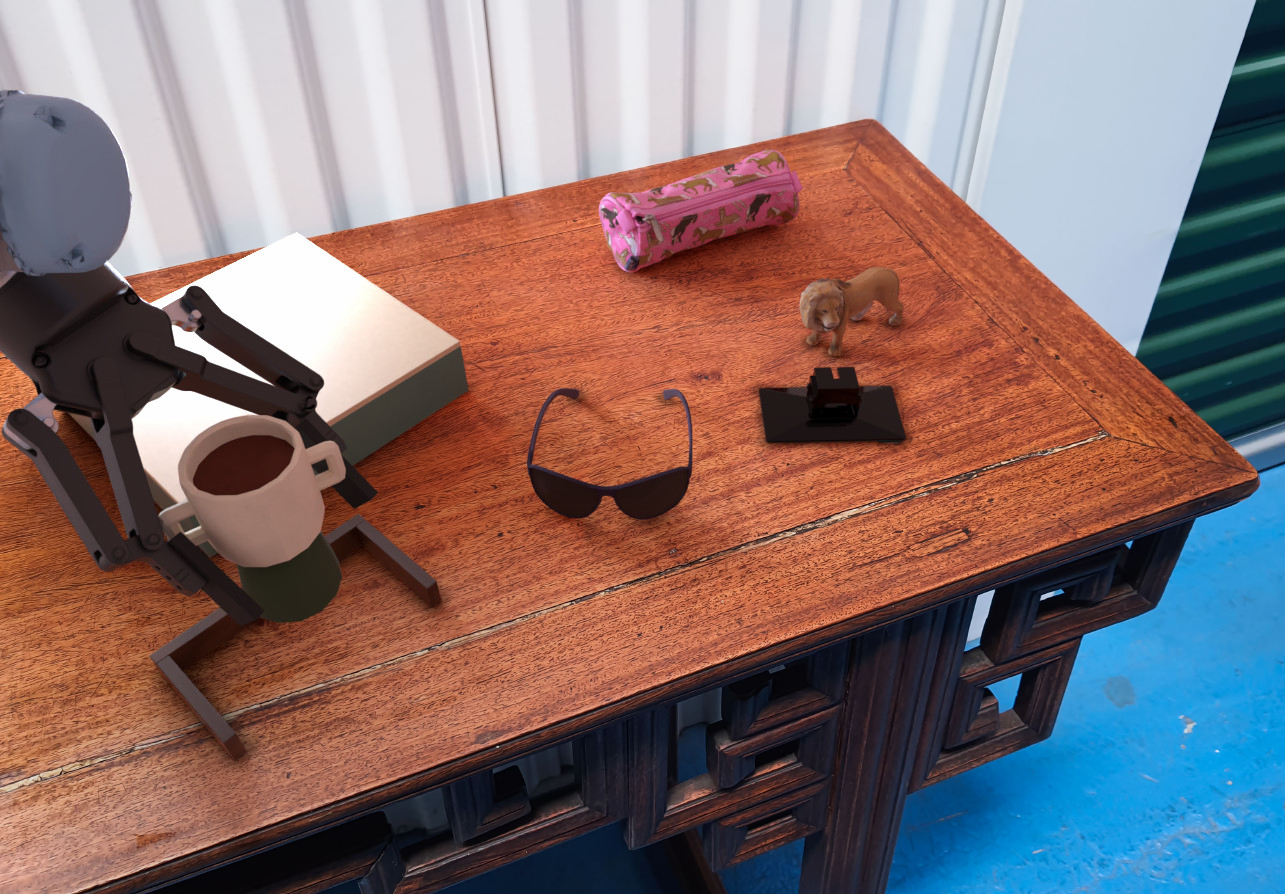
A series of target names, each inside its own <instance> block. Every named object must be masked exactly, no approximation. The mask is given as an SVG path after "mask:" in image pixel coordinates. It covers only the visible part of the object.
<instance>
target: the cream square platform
mask: <svg viewBox="0 0 1285 894" xmlns="http://www.w3.org/2000/svg"><path fill="white" fill-rule="evenodd" d="M192 285H198V286H200V287H202V288H203V289H204V290H205V291H206V292H207V294H208V295H209V296H210V297H211V298H212V299H213V301H214V302H215V303H216V304H217V305H218V307H219V308H220V309H221V310H222V311H223V312H224V313H226V314H227V315H229V316H230V317H232V318H233V319H235V320H236V321H238V322H240V323H241V324H243V325H244V326H246V327H247V328H249V329H250V330H252V331H253V332H255V333H256V334H258V335H259V336H261V337H263V338H264V339H266V340H267V341H269V342H270V343H272V344H273V345H275V346H276V347H278V348H279V349H281V350H282V351H284V352H286V353H287V354H289V355H290V356H292V357H293V358H295V359H296V360H298V361H299V362H301V363H302V364H304V365H305V366H307V367H309V368H310V369H312V370H313V371H315V372H316V373H318V374H319V375H320V376H321V377H322V378H323V380H324V386H323V388H322V389H321V390H320V391H319V393H318V395H317V398H316V400H317V407H316V409H315V410H316V412H317V413H318V415H319V416H320V417H321V418H322V419H323V420H324V421H325V422H326V423H327V424H328V425H329V426H330V427H331V428H332V429H333V430H334V431H335V432H336V433H337V434H338V435H339V436H340V437H341V438H342V439H343V440H344V442H345V444H346V447H347V449H346V450H345V451H343V452H342V453H341V455H342V456H343V457H344V458H345V459H346V460H347V461H348V462H349V463H350V464H351V465H352V466H353V467H354V466H355V465H356V464H358V463H360V462H361V461H363V460H364V459H366V458H367V457H369V456H370V455H372V454H373V453H375V452H376V451H378V450H380V449H381V448H383V447H384V446H386V445H387V444H389V443H390V442H392V441H393V440H396V438H398V437H400V436H401V435H403V434H405V433H406V432H407V431H409V430H410V429H412V428H413V427H415V426H416V425H418V424H419V423H421V422H423V421H424V420H426V419H427V418H429V417H430V416H432V415H433V414H435V413H437V412H438V411H440V410H442V409H443V408H444V407H446V406H447V405H449V404H451V403H452V402H454V401H455V400H456V399H458V398H459V397H461V396H463V395H465V394H466V393H468V392H469V391H470V387H469V383H468V378H467V372H466V366H465V362H464V357H463V350H462V346H461V341H460V340H459V339H457V338H456V337H455V336H453V335H451V334H450V333H448V332H447V331H445V330H444V329H442V328H441V327H439V326H438V325H436V324H435V323H433V322H432V321H430V320H429V319H427V318H426V317H425V316H423V315H422V314H420V313H418V312H417V311H415V310H414V309H412V308H411V307H410V306H408V305H407V304H405V303H403V302H402V301H401V300H399V299H397V298H396V297H394V296H393V295H391V294H390V293H388V292H386V291H385V290H384V289H382V288H381V287H379V286H377V285H376V284H375V283H374V282H371V281H370V280H369V279H367V278H366V277H365V276H363V275H361V274H359V272H357V271H355V270H354V269H352V268H351V267H349V266H348V265H346V264H345V263H343V262H342V261H340V260H339V259H337V258H336V257H334V256H333V255H331V254H330V253H328V252H327V251H325V250H324V249H322V248H321V247H320V246H318V245H316V244H315V243H314V242H312V241H310V240H309V239H307V238H306V237H304V236H303V235H302V234H300V233H298V232H294V233H293V234H290V235H288V236H286V237H284V238H283V239H280V240H278V241H276V242H274V243H272V244H270V245H268V246H266V247H264V248H262V249H260V250H258V251H256V252H254V253H252V254H250V255H247V256H246V257H244V258H241V259H239V260H237V261H236V262H233V263H231V264H229V265H226V266H225V267H223V268H221V269H218V270H216V271H214V272H213V273H211V274H208V275H206V276H203V277H202V278H200V279H197V280H196V281H194V282H192V283H190V284H188V285H186V286H184V287H182V288H180V289H178V290H175V291H174V292H172V293H169V294H167V295H166V296H165V295H164V296H163V297H161V298H159V299H157V300H155V301H153V302H151V303H150V304H152V305H154V306H157V307H159V308H163V307H164V306H166V305H168V304H169V303H171V302H173V301H175V300H176V299H178V298H180V297H181V296H182V295H183V293H184V292H185V291H186V289H187V288H188V287H189V286H192ZM172 328H173V334H174V340H175V345H176V346H179V347H181V348H184V349H187V350H189V351H192V352H195V353H197V354H200V355H202V356H204V357H205V358H206V359H207V360H208V361H209V362H211V363H214V364H217V365H220V366H222V367H225V368H228V369H230V370H233V371H236V372H238V373H241V374H244V375H246V376H249V377H252V378H255V379H257V380H260V381H263V382H265V383H268V384H271V383H269V382H268V381H266V380H264V379H263V378H261V377H260V376H258V375H257V374H255V373H253V372H252V371H250V370H249V369H247V368H246V367H244V366H242V365H241V364H239V363H238V362H236V361H234V360H233V359H231V358H230V357H228V356H227V355H225V354H223V353H222V352H220V351H219V350H217V349H215V348H214V347H212V346H211V345H209V344H208V343H206V342H205V341H203V340H202V339H201V338H200V337H198V336H197V335H196V334H195V333H194V332H193V333H189V332H184V331H183V330H182V329H181V328H180V327H177V326H172ZM271 385H272V384H271ZM273 386H274V385H273ZM68 415H69V416H70V417H71V418H72V419H73V420H74V421H75V422H76V424H78V425H79V426H80V427H81V428H82V429H83V430H84V431H85V433H87V434H88V435H89V436H90V437H91V438H92V439H93V440H94V441H95V442H96V439H95V436H94V433H93V429H92V426H91V423H90V419H89V417H85V416H80V415H76V414H71V413H68ZM245 415H257V414H254V413H252V412H249V411H246V410H243V409H240V408H237V407H235V406H232V405H229V404H226V403H223V402H220V401H218V400H215V399H212V398H209V397H206V396H203V395H201V394H198V393H195V392H192V391H180V390H177V389H174V388H170V390H169V391H168V392H166V393H165V394H164V395H162V396H161V397H160V398H158V399H156V400H153V401H151V402H149V403H147V404H146V406H145V407H144V408H143V409H142V410H141V412H140V413H139V414H138V415H137V416H135V417H134V418H133V419H132V422H133V434H134V438H135V441H136V445H137V448H138V451H139V455H140V458H141V461H142V464H143V468H144V471H145V474H146V478H147V481H148V484H149V488H150V491H151V494H152V497H153V501H154V503H155V504H156V505H157V506H158V507H159V508H160V509H161V510H162V511H163V510H165V509H166V508H169V507H171V506H173V505H176V504H178V503H180V502H183V501H185V500H187V498H186V496H185V494H184V492H183V490H182V488H181V485H180V482H179V474H178V463H179V461H180V459H181V456H182V454H183V452H184V449H185V448H186V447H187V446H188V445H189V444H190V443H191V442H192V440H193V439H194V438H195V437H196V436H197V435H198V434H200V433H201V432H203V431H204V430H206V429H207V428H209V427H210V426H212V425H214V424H216V423H219V422H221V421H224V420H227V419H230V418H234V417H239V416H245ZM312 469H313V468H312ZM313 472H314V474H315V476H316V475H318V473H317V472H316V471H315V470H314V469H313ZM179 523H180V525H181V527H182V529H183V531H184V533H185V532H188V531H190V530H192V529H194V528H197V527H199V526H200V524H199V522H198V520H197V518H196V516H195V515H193V516H191V517H189V518H186V519H184V520H182V521H179ZM197 547H198V548H199V549H200V550H201V551H202V552H203V553H204V554H205V555H206V556H207V557H208V558H210V559H212V558H213V557H214V556H216V555H218V554H219V553H218V552H217V551H216V550H215V549H214V547H213V546H212V545H211V544H210V543H209V542H208V541H206V542H204V543H201V544H199V545H197Z"/></svg>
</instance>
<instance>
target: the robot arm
mask: <svg viewBox="0 0 1285 894" xmlns="http://www.w3.org/2000/svg"><path fill="white" fill-rule="evenodd" d="M132 202H133V194H132V192H131V185H130V179H129V167H128V162H127V159H126V156H125V153H124V151H123V148H122V146H121V144H120V142H119V140H118V138H117V136H116V134H115V133H114V132H113V130H112V128H111V127H110V126H109V124H108V123H107V122H106V121H105V120H104V118H103V117H102V116H101V115H99V114H98V112H96V111H95V110H93V109H92V108H91V107H90V106H87V105H86V104H84V103H82V102H80V101H78V100H76V99H73V98H69V97H64V96H58V95H45V94H36V93H35V94H33V93H26V92H24V91H23V90H19V89H2V90H0V353H1V354H3V355H4V356H5V357H6V358H7V359H8V360H9V361H10V362H11V363H12V364H13V365H14V366H15V367H16V368H17V369H18V370H20V371H21V372H22V373H23V374H24V375H26V376H27V377H28V378H29V379H30V381H31V382H32V383H33V385H34V387H35V390H36V393H37V395H36V397H34V398H33V399H32V400H31V401H29V402H28V403H27V404H26V405H25V406H23V407H22V408H15V409H13V410H11V411H10V412H9V414H8V415H7V417H6V419H5V421H4V423H3V425H2V427H1V435H2V437H3V438H4V439H5V440H6V441H7V442H8V443H10V444H11V445H12V446H13V447H15V448H16V449H17V450H19V451H20V452H21V453H23V454H24V455H25V456H26V457H27V458H29V459H30V460H31V461H32V463H33V464H34V466H35V468H36V469H37V471H38V472H39V474H40V476H41V477H42V479H43V480H44V482H45V484H46V485H47V487H48V489H49V490H50V492H51V494H52V495H53V496H54V498H55V500H56V501H57V503H58V504H59V507H60V508H61V510H62V511H63V513H64V514H65V516H66V518H67V519H68V521H69V523H70V524H71V526H72V527H73V529H74V531H75V532H76V534H77V536H78V537H79V538H80V540H81V542H82V543H83V545H84V547H85V549H86V550H87V552H88V553H89V554H90V557H91V558H92V560H93V561H94V563H95V564H96V566H97V568H99V569H100V571H102V572H104V573H113V572H115V571H117V570H119V569H121V568H123V567H125V566H129V565H130V564H133V563H136V562H139V563H145V564H146V565H149V567H150V568H152V570H154V571H155V572H156V573H157V574H158V575H159V576H160V577H161V578H163V579H164V581H166V582H167V583H168V584H169V585H170V586H171V587H172V588H173V589H174V590H176V591H177V592H178V594H181V595H183V596H185V597H188V598H191V597H192V596H194V595H196V594H197V593H198V592H200V591H202V592H203V593H204V594H205V595H206V596H207V597H209V599H211V600H212V602H214V603H215V604H216V605H217V606H218V608H220V607H221V608H222V609H223V610H224V611H225V612H226V613H227V614H228V615H229V616H230V617H231V618H232V619H233V620H235V621H236V622H237V623H238V624H239V625H240V626H243V625H245V624H248V623H250V622H252V621H255V620H256V619H257V618H258V617H259V616H260V615H261V614H262V613H263V612H264V611H265V610H264V609H263V608H262V607H261V606H260V605H258V604H257V603H256V602H255V601H254V600H253V599H252V598H251V597H250V596H249V595H248V594H247V593H246V592H245V591H244V590H243V589H242V587H241V586H240V585H238V583H236V582H235V581H234V580H233V579H232V578H231V577H230V576H229V575H228V574H227V573H226V572H224V570H222V569H221V568H220V566H218V565H217V564H216V562H214V561H213V560H212V558H209V557H208V556H207V555H206V554H205V553H204V552H203V551H202V549H201V548H200V547H199V546H198V545H197V546H196V545H195V544H194V543H192V542H191V541H190V540H189V539H188V538H187V537H186V536H185V535H184V534H183V533H182V532H179V533H178V534H177V535H175V536H174V537H173V538H171V539H170V540H169V541H168V540H167V539H165V534H164V532H163V530H162V527H161V524H160V521H159V517H158V516H159V514H158V510H157V507H156V503H155V501H154V500H153V497H152V494H151V491H150V488H149V484H148V481H147V478H146V474H145V471H144V468H143V464H142V461H141V458H140V455H139V451H138V448H137V445H136V441H135V438H134V434H133V422H132V419H133V418H134V417H135V416H137V415H138V414H139V413H140V412H141V410H142V409H143V408H144V407H145V406H146V404H147V403H149V402H151V401H153V400H156V399H158V398H160V397H161V396H162V395H164V394H165V393H166V392H168V391H169V390H170V388H174V389H177V390H180V391H192V392H195V393H198V394H201V395H203V396H206V397H209V398H212V399H215V400H218V401H220V402H223V403H226V404H229V405H232V406H235V407H237V408H240V409H243V410H246V411H249V412H252V413H254V414H257V415H268V416H271V417H274V418H277V419H281V420H284V421H286V422H287V423H289V424H290V425H291V426H292V427H293V428H294V429H296V430H297V431H298V432H299V434H300V436H301V438H302V441H303V444H304V447H305V449H308V448H310V447H313V446H315V445H317V444H320V443H322V442H325V441H334V442H335V443H336V444H337V445H338V447H339V450H340V453H342V452H343V451H345V450H346V449H347V447H346V444H345V442H344V440H343V439H342V438H341V437H340V436H339V435H338V434H337V433H336V432H335V431H334V430H333V429H332V428H331V427H330V426H329V425H328V424H327V423H326V422H325V421H324V420H323V419H322V418H321V417H320V416H319V415H318V413H317V412H316V410H315V409H316V407H317V400H316V398H317V395H318V393H319V391H320V390H321V389H322V388H323V386H324V380H323V378H322V377H321V376H320V375H319V374H318V373H316V372H315V371H313V370H312V369H310V368H309V367H307V366H305V365H304V364H302V363H301V362H299V361H298V360H296V359H295V358H293V357H292V356H290V355H289V354H287V353H286V352H284V351H282V350H281V349H279V348H278V347H276V346H275V345H273V344H272V343H270V342H269V341H267V340H266V339H264V338H263V337H261V336H259V335H258V334H256V333H255V332H253V331H252V330H250V329H249V328H247V327H246V326H244V325H243V324H241V323H240V322H238V321H236V320H235V319H233V318H232V317H230V316H229V315H227V314H226V313H224V312H223V311H222V310H221V309H220V308H219V307H218V305H217V304H216V303H215V302H214V301H213V299H212V298H211V297H210V296H209V295H208V294H207V292H206V291H205V290H204V289H203V288H202V287H200V286H198V285H192V286H189V287H188V288H187V289H186V291H185V292H184V293H183V295H182V296H181V297H180V298H178V299H176V300H175V301H173V302H171V303H169V304H168V305H166V306H164V307H163V308H159V307H157V306H154V305H152V304H151V303H149V302H147V301H145V300H144V299H143V298H141V297H140V296H139V295H138V294H137V292H136V291H135V289H134V288H133V287H132V285H130V283H129V282H128V281H127V280H126V279H125V278H124V277H123V276H122V275H121V274H120V273H119V272H118V271H117V270H116V269H115V268H114V267H113V266H112V265H111V263H109V262H108V261H110V260H111V259H112V258H113V256H114V255H115V254H116V253H117V252H118V251H119V249H120V248H121V246H122V245H123V242H124V241H125V238H126V236H127V232H128V230H129V225H130V221H131V216H132V206H133V205H132V204H133V203H132ZM172 326H177V327H180V328H181V329H182V330H183V331H184V332H189V333H193V332H194V333H195V334H196V335H197V336H198V337H200V338H201V339H202V340H203V341H205V342H206V343H208V344H209V345H211V346H212V347H214V348H215V349H217V350H219V351H220V352H222V353H223V354H225V355H227V356H228V357H230V358H231V359H233V360H234V361H236V362H238V363H239V364H241V365H242V366H244V367H246V368H247V369H249V370H250V371H252V372H253V373H255V374H257V375H258V376H260V377H261V378H263V379H264V380H266V381H268V382H269V383H271V384H272V385H271V384H268V383H265V382H263V381H260V380H257V379H255V378H252V377H249V376H246V375H244V374H241V373H238V372H236V371H233V370H230V369H228V368H225V367H222V366H220V365H217V364H214V363H211V362H209V361H208V360H207V359H206V358H205V357H204V356H202V355H200V354H197V353H195V352H192V351H189V350H187V349H184V348H181V347H179V346H176V345H175V340H174V334H173V328H172ZM273 385H274V386H273ZM54 411H58V412H62V413H67V414H69V413H71V414H76V415H80V416H85V417H89V419H90V423H91V426H92V429H93V433H94V436H95V439H96V441H95V442H96V445H97V447H98V448H99V449H100V450H101V453H102V457H103V461H104V463H105V468H106V471H107V473H108V477H109V481H110V484H111V488H112V490H113V494H114V497H115V501H116V504H117V507H118V510H119V514H120V517H121V520H122V523H123V527H124V530H125V534H126V536H127V538H126V539H124V537H123V536H122V534H121V533H120V531H119V530H118V527H117V526H116V524H115V523H114V521H113V519H112V518H111V516H110V515H109V513H108V511H107V510H106V509H105V507H104V505H103V502H102V501H101V500H100V498H99V497H98V495H97V494H96V492H95V490H94V489H93V487H92V486H91V484H90V482H89V480H88V479H87V477H86V476H85V474H84V472H83V470H82V469H81V467H80V465H79V464H78V462H77V461H76V459H75V458H74V456H73V454H72V453H71V451H70V449H69V448H68V447H67V445H66V444H65V442H64V441H63V439H62V438H61V437H60V436H59V435H58V434H57V433H58V431H59V429H60V424H59V421H58V420H57V419H56V417H55V415H54ZM341 456H342V455H341ZM342 459H343V462H344V465H345V468H346V473H345V478H344V479H343V480H342V481H340V482H339V483H337V484H334V485H332V486H330V487H331V488H332V489H333V490H334V491H335V492H336V493H337V494H338V495H339V496H340V497H341V498H342V499H343V500H344V501H345V502H346V503H347V504H348V505H349V506H350V507H351V508H352V509H353V510H356V509H358V508H360V507H362V506H364V505H365V504H368V503H369V502H371V501H372V500H374V498H375V497H376V496H377V495H378V494H379V491H378V490H377V489H376V488H375V487H374V486H373V485H372V484H371V483H370V482H369V481H368V480H367V479H366V478H365V476H363V475H362V474H361V473H360V472H359V471H358V470H357V468H355V467H354V465H353V466H352V465H351V464H350V463H349V462H348V461H347V460H346V459H345V458H344V457H343V456H342ZM311 466H312V468H313V469H314V470H315V471H316V472H317V473H318V474H320V473H323V472H325V471H327V470H329V467H328V464H327V462H326V459H323V460H321V461H319V462H316V463H314V464H312V465H311ZM256 621H257V620H256ZM256 621H255V622H256Z"/></svg>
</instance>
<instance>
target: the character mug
mask: <svg viewBox="0 0 1285 894" xmlns="http://www.w3.org/2000/svg"><path fill="white" fill-rule="evenodd" d="M323 459H326V462H327V464H328V467H329V470H327V471H325V472H323V473H320V474H318V475H316V476H315V474H314V472H313V469H312V466H311V465H312V464H314V463H316V462H319V461H321V460H323ZM345 473H346V468H345V465H344V462H343V459H342V456H341V453H340V450H339V447H338V445H337V444H336V443H335V442H334V441H325V442H322V443H320V444H317V445H315V446H313V447H310V448H308V449H305V447H304V444H303V441H302V438H301V436H300V434H299V432H298V431H297V430H296V429H294V428H293V427H292V426H291V425H290V424H289V423H287V422H286V421H284V420H281V419H277V418H274V417H271V416H268V415H245V416H239V417H234V418H230V419H227V420H224V421H221V422H219V423H216V424H214V425H212V426H210V427H209V428H207V429H206V430H204V431H203V432H201V433H200V434H198V435H197V436H196V437H195V438H194V439H193V440H192V442H191V443H190V444H189V445H188V446H187V447H186V448H185V449H184V452H183V454H182V456H181V459H180V461H179V463H178V474H179V482H180V485H181V488H182V490H183V492H184V494H185V496H186V498H187V500H185V501H183V502H180V503H178V504H176V505H173V506H171V507H169V508H166V509H165V510H162V511H160V512H159V514H158V517H159V521H160V524H161V527H162V530H163V534H164V537H166V540H167V541H169V540H170V539H171V538H173V537H174V536H175V535H177V534H178V533H179V532H182V533H183V534H184V535H185V536H186V537H187V538H188V539H189V540H190V541H191V542H192V543H194V544H195V545H196V546H197V547H198V545H199V544H201V543H204V542H206V541H208V542H209V543H210V544H211V545H212V546H213V547H214V549H215V550H216V551H217V552H218V553H217V554H219V555H220V556H221V557H222V558H223V559H225V560H226V561H228V562H231V563H233V564H236V568H237V572H238V576H239V581H240V586H241V589H243V590H244V591H245V592H246V593H247V594H248V595H249V596H250V597H251V598H252V599H253V600H254V601H255V602H256V603H257V604H258V605H260V606H261V607H262V608H263V609H264V610H265V611H264V612H263V613H262V614H261V615H260V616H259V617H260V618H259V619H263V620H267V621H270V622H273V623H276V624H289V623H301V622H304V621H306V620H308V619H310V618H312V617H314V616H316V615H318V614H320V613H322V612H323V611H325V609H326V608H327V607H328V606H329V605H330V603H331V602H332V601H333V600H334V599H335V598H336V597H337V595H338V592H339V589H340V585H341V582H342V580H343V574H342V569H341V565H340V562H339V561H338V559H337V557H336V555H335V553H334V551H333V550H332V548H331V546H330V544H329V543H328V541H327V540H326V538H325V537H324V536H325V535H324V534H323V532H322V526H323V523H324V517H325V511H326V507H325V504H324V499H323V496H322V492H321V491H324V490H326V489H328V488H330V487H331V486H332V485H334V484H337V483H339V482H340V481H342V480H343V479H344V478H345ZM193 515H195V516H196V518H197V520H198V522H199V524H200V526H199V527H197V528H194V529H192V530H190V531H188V532H184V531H183V529H182V527H181V525H180V523H179V521H182V520H184V519H186V518H189V517H191V516H193Z"/></svg>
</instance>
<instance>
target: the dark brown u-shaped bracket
mask: <svg viewBox="0 0 1285 894" xmlns="http://www.w3.org/2000/svg"><path fill="white" fill-rule="evenodd" d="M324 537H325V538H326V540H327V541H328V543H329V544H330V546H331V548H332V550H333V551H334V553H335V555H336V557H337V559H338V561H339V563H340V562H342V561H343V560H345V559H346V558H348V557H349V556H350V555H352V554H353V553H355V552H356V551H358V550H359V549H360V548H362V547H363V549H365V550H366V551H367V552H368V553H369V554H371V555H372V556H373V557H374V558H375V559H376V560H377V561H378V562H380V564H382V565H383V566H384V567H385V568H386V569H388V570H389V571H390V572H391V573H392V574H393V575H394V576H395V577H396V578H397V579H399V580H400V581H401V582H402V583H403V584H405V585H406V587H408V588H409V589H410V590H411V591H412V592H413V593H415V594H416V596H418V597H419V598H420V599H421V600H422V601H423V602H425V603H426V604H427V605H428V606H429V607H430V608H435V606H437V605H438V604H440V603H441V602H442V600H443V598H442V596H441V591H440V588H439V584H438V581H437V580H436V579H435V578H434V577H433V576H432V575H430V574H429V573H428V572H427V571H426V570H425V569H424V568H423V567H421V566H420V565H419V564H418V563H416V562H415V561H414V560H413V559H412V558H411V557H409V556H408V555H407V553H405V552H404V551H403V550H402V549H400V548H399V547H398V546H397V545H396V544H395V543H393V541H391V540H390V539H389V538H388V537H386V536H385V535H384V534H383V533H382V532H381V531H380V530H378V528H376V527H375V526H373V524H371V523H370V522H369V521H368V520H367V519H366V518H365V517H364V516H363V515H361V514H360V513H357V514H355V515H353V516H352V517H350V518H349V519H348V520H346V521H344V522H343V523H342V524H340V525H338V526H337V527H336V528H334V529H333V530H331V531H329V532H328V533H327V534H325V535H324ZM260 619H261V618H260V617H258V618H257V619H256V620H255V621H252V622H250V623H248V624H245V625H243V626H240V625H239V624H238V623H237V622H236V621H235V620H233V619H232V618H231V617H230V616H229V615H228V614H227V613H226V612H225V611H224V610H223V609H222V608H221V607H217V609H215V610H214V611H212V612H211V613H209V614H208V615H207V616H205V617H204V618H202V619H200V620H199V621H197V622H196V623H194V625H193V624H192V626H191V627H189V628H187V629H186V630H184V631H183V632H181V633H180V634H178V635H177V636H176V637H174V638H173V639H171V640H170V641H168V642H167V643H165V644H163V646H161V647H160V648H158V649H157V650H155V651H154V652H152V653H151V654H149V655H148V657H149V658H150V660H151V661H152V663H153V664H154V666H155V668H156V669H157V670H158V672H159V674H160V675H161V676H162V677H163V679H164V680H165V681H166V682H167V683H168V684H169V685H170V687H171V688H172V689H173V690H174V692H175V693H176V694H177V695H178V696H179V697H180V699H181V700H182V701H183V702H184V703H185V704H186V706H187V708H189V709H190V711H191V712H192V713H193V714H194V715H195V716H196V718H197V719H198V720H199V722H201V724H202V725H203V726H204V727H205V728H206V730H207V731H208V732H209V733H210V735H212V737H213V738H214V739H215V740H216V741H217V743H218V744H219V745H220V746H221V747H222V748H223V750H224V751H225V752H226V753H227V754H228V756H229V757H230V758H231V759H232V760H233V761H234V762H235V761H237V760H238V759H239V758H241V757H242V756H243V755H244V754H245V753H247V752H248V750H247V748H246V747H245V744H243V742H242V740H241V738H240V737H239V735H238V734H237V732H236V731H235V730H234V729H233V727H232V726H231V725H230V724H229V723H228V722H227V721H226V719H225V718H224V717H223V716H222V715H221V714H220V713H219V711H218V710H217V709H216V708H215V707H214V705H213V704H212V703H211V702H210V701H209V700H208V699H207V697H205V695H204V694H203V692H201V690H200V689H199V688H198V687H197V685H195V684H194V683H193V681H192V680H191V679H190V678H189V676H188V675H187V674H186V673H185V671H187V670H188V669H189V668H190V667H192V666H193V665H195V664H196V663H198V662H199V661H201V660H202V659H203V658H205V657H207V656H208V655H209V654H211V653H212V652H214V651H215V650H216V649H218V648H219V647H220V646H222V645H223V644H226V643H227V642H228V641H229V640H231V639H232V638H234V637H235V636H237V635H238V634H239V633H240V632H242V631H243V630H245V629H246V628H247V627H249V626H251V625H252V624H254V623H255V622H256V621H258V620H260Z"/></svg>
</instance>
